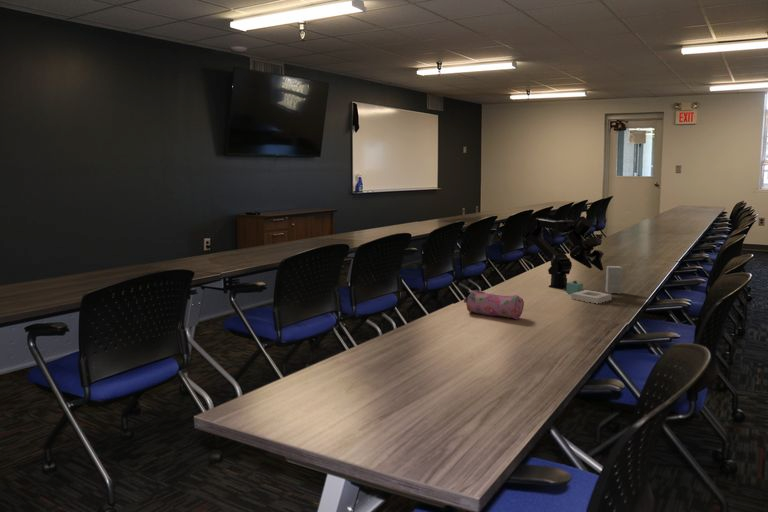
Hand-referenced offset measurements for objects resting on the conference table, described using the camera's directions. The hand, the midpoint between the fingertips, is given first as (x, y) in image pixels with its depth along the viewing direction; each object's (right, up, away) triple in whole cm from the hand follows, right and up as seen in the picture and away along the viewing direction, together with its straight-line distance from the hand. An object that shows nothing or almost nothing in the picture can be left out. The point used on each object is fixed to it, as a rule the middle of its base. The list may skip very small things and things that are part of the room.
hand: (596, 269), depth 265 cm
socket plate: (-4, -13, -5) cm, 14 cm away
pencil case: (-51, -17, -34) cm, 64 cm away
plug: (-8, -11, +7) cm, 15 cm away
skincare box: (+11, -11, +10) cm, 18 cm away
